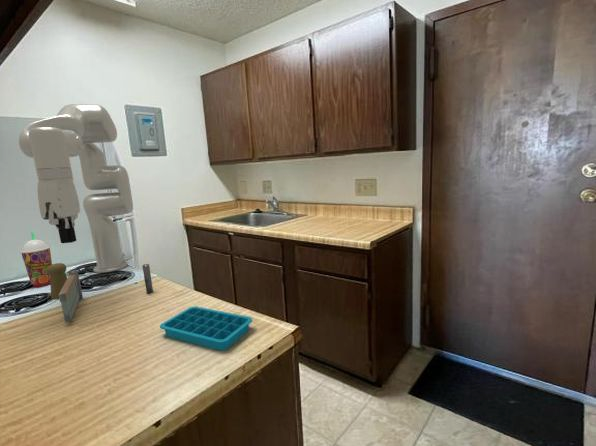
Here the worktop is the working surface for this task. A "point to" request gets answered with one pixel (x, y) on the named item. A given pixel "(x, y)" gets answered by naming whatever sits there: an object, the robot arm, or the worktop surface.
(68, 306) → the gate
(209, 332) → the ice cube tray
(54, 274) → the cork
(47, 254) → the smoothie
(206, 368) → the worktop surface
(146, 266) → the gate posts
